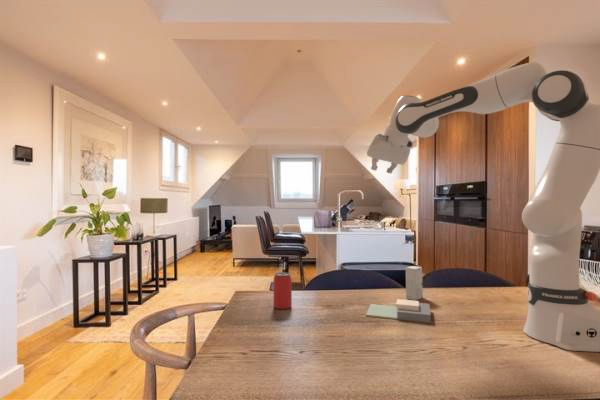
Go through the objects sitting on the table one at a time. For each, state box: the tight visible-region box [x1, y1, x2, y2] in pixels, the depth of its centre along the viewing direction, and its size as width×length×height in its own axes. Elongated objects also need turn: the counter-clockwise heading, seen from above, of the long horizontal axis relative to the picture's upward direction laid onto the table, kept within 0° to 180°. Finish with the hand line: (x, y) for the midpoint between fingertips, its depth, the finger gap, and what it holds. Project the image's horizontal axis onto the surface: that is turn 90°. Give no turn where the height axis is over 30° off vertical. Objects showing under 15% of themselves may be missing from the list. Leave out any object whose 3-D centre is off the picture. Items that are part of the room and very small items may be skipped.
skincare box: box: [405, 265, 424, 301], centre depth 129 cm, size 6×4×12 cm
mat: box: [365, 303, 398, 320], centre depth 112 cm, size 10×12×1 cm
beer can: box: [273, 271, 293, 310], centre depth 118 cm, size 7×7×12 cm
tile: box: [395, 298, 420, 311], centre depth 110 cm, size 7×6×2 cm
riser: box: [396, 302, 432, 324], centre depth 109 cm, size 10×12×2 cm
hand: (381, 171), depth 130 cm, fingers open, 8 cm apart
